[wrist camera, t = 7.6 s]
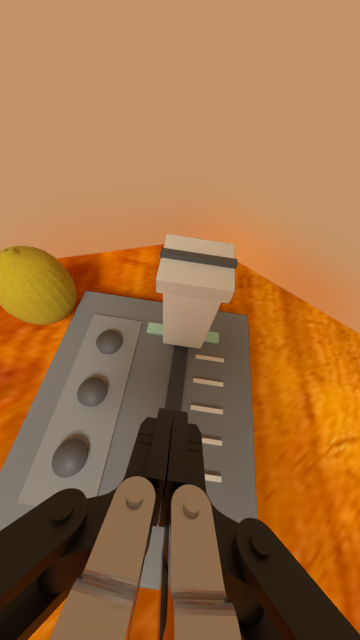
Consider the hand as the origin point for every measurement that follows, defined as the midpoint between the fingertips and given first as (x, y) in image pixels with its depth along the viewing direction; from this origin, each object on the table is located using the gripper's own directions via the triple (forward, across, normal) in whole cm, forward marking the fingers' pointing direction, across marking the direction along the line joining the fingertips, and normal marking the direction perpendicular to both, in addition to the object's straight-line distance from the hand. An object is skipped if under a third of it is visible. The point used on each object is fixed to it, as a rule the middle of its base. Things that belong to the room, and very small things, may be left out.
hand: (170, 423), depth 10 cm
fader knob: (+8, 0, -3) cm, 8 cm away
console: (+6, +2, +4) cm, 7 cm away
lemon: (+11, +12, -1) cm, 16 cm away
